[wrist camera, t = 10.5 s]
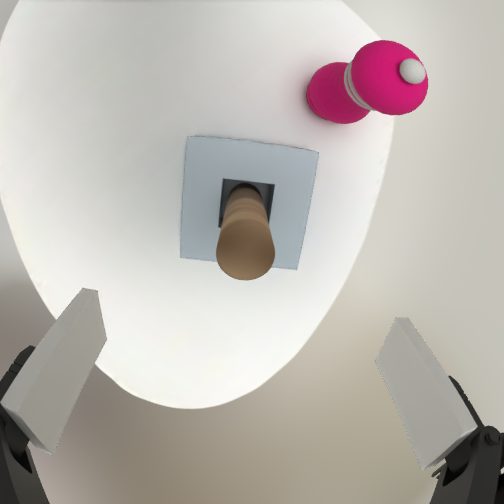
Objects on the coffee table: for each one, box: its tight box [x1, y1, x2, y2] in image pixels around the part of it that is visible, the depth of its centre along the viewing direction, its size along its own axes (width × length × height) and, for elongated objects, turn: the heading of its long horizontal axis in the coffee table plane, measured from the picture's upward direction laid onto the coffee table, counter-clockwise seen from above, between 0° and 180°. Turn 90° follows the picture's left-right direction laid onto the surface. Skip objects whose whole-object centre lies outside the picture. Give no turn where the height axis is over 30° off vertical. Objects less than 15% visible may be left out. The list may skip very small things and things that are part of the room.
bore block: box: [180, 136, 319, 270], centre depth 33 cm, size 14×14×5 cm
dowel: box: [216, 183, 275, 280], centre depth 27 cm, size 4×4×17 cm
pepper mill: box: [307, 40, 428, 124], centre depth 21 cm, size 7×7×20 cm
